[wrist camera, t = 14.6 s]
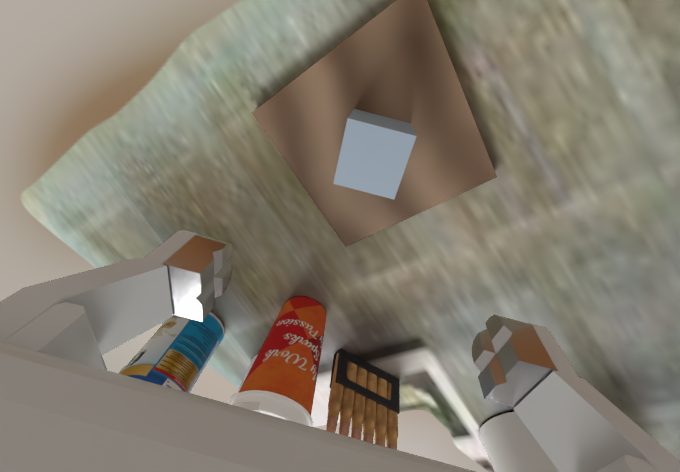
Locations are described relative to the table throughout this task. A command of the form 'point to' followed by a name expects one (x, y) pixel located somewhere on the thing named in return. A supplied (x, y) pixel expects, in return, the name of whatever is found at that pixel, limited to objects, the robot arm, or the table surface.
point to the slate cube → (374, 153)
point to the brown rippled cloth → (385, 100)
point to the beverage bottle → (177, 352)
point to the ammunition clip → (363, 400)
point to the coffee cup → (287, 364)
